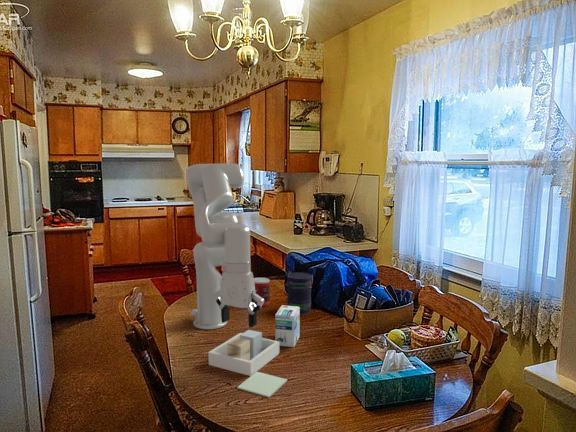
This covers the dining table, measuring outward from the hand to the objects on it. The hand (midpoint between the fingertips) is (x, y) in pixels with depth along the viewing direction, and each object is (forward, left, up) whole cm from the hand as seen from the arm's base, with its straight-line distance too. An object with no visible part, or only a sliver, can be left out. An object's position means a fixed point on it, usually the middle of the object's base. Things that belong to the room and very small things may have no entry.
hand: (238, 323), depth 132 cm
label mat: (+12, -7, -13) cm, 19 cm away
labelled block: (-1, 0, -13) cm, 13 cm away
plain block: (-1, +7, -13) cm, 15 cm away
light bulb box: (+4, +23, -13) cm, 27 cm away
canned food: (-24, +51, -13) cm, 58 cm away
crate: (-1, +4, -13) cm, 13 cm away
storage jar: (-6, +52, -13) cm, 54 cm away
